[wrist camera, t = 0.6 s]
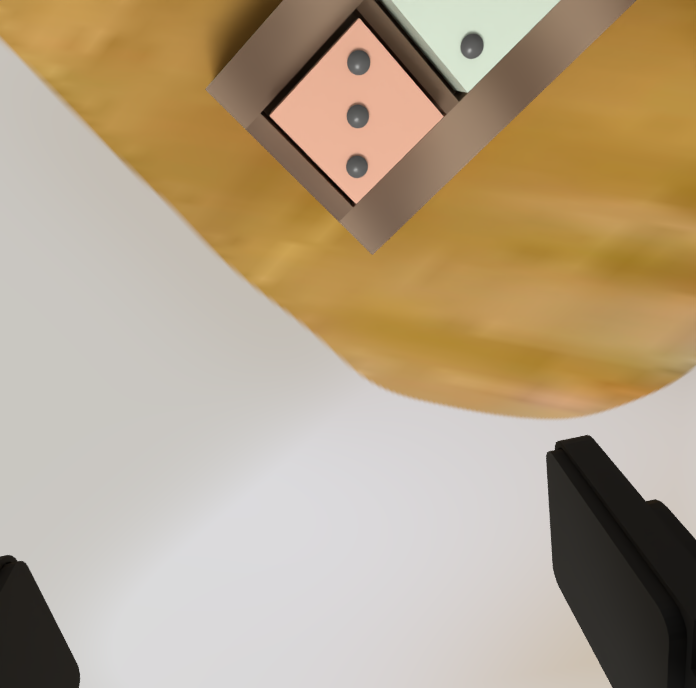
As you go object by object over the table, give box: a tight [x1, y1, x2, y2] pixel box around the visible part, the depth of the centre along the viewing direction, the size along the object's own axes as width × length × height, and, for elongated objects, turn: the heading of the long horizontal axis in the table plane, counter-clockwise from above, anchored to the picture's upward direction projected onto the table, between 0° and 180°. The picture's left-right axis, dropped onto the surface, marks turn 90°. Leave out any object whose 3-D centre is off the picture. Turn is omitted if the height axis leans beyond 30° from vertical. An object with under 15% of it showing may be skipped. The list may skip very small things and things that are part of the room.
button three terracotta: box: [270, 18, 444, 204], centre depth 27 cm, size 5×5×2 cm
